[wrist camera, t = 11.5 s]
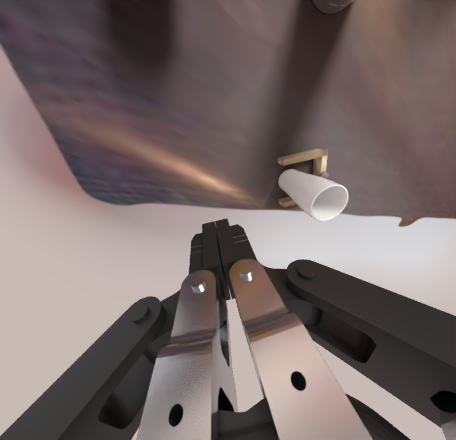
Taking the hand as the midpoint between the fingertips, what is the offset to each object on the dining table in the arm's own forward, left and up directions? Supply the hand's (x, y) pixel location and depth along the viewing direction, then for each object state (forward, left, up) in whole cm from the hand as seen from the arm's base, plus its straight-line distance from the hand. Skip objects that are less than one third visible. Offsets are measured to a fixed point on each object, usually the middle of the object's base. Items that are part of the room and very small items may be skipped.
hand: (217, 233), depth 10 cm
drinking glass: (+9, +18, -29) cm, 36 cm away
